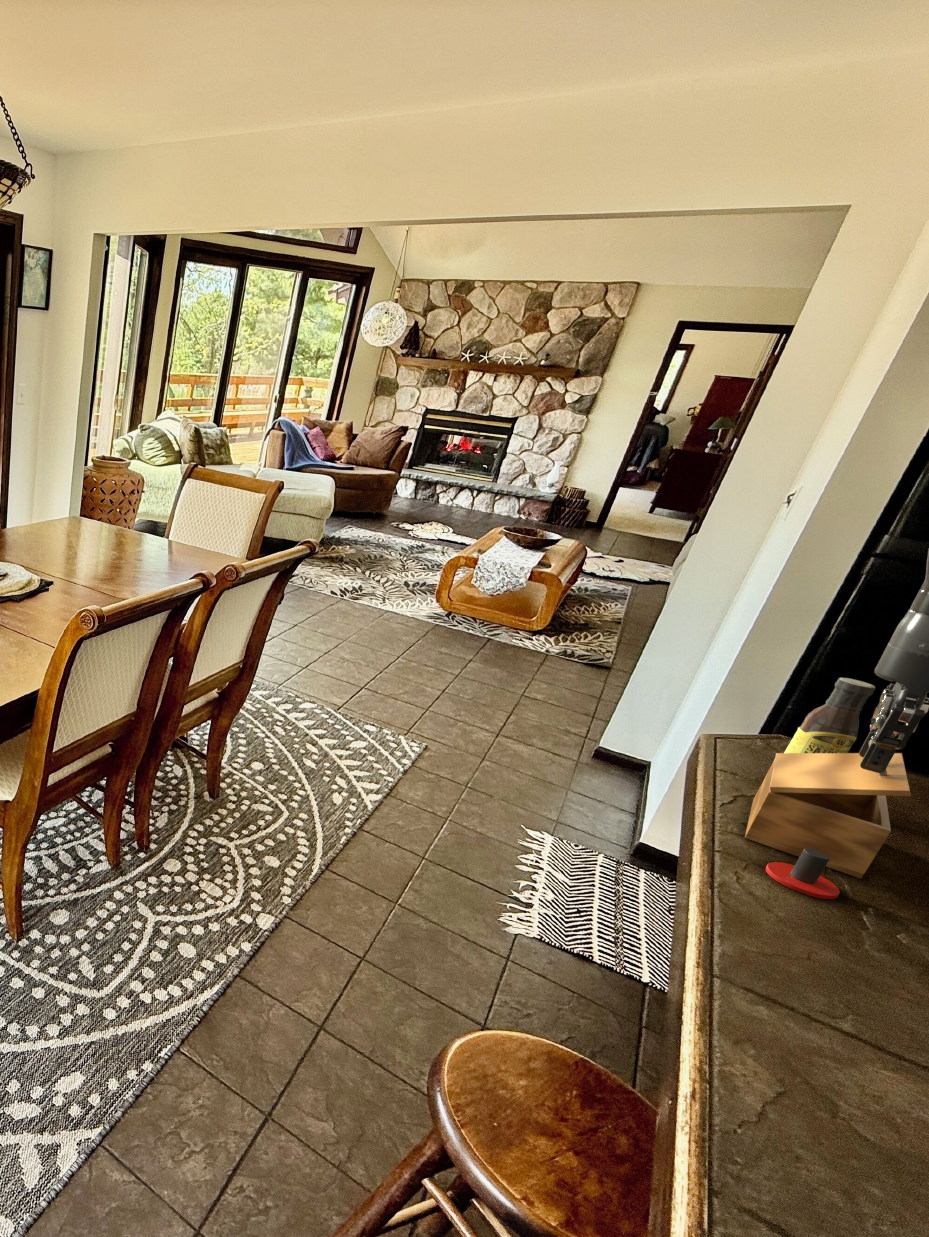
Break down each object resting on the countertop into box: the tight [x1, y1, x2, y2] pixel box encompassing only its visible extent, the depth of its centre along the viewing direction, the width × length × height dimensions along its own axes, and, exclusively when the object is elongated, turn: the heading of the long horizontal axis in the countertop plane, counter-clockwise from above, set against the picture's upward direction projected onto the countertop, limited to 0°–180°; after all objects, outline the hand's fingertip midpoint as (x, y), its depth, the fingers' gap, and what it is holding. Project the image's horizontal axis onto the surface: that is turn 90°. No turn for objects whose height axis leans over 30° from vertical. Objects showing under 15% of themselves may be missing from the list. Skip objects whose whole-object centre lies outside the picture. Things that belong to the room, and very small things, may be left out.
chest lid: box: [770, 740, 912, 797], centre depth 98 cm, size 12×17×5 cm
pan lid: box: [765, 848, 841, 900], centre depth 91 cm, size 7×7×5 cm
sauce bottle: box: [783, 677, 876, 753], centre depth 112 cm, size 7×6×20 cm
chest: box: [744, 758, 892, 880], centre depth 101 cm, size 12×17×8 cm
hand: (870, 763), depth 96 cm, fingers closed on chest lid, 5 cm apart
